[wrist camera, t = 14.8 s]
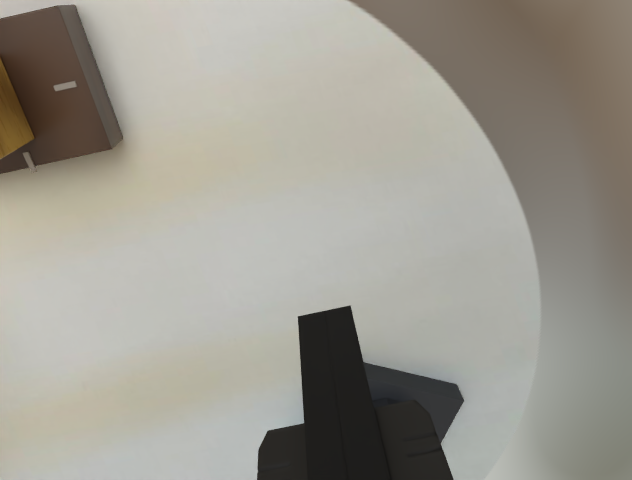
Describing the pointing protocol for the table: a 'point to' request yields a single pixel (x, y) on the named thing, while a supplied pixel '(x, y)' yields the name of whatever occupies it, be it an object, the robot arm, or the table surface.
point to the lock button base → (415, 394)
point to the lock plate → (55, 88)
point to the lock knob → (11, 118)
